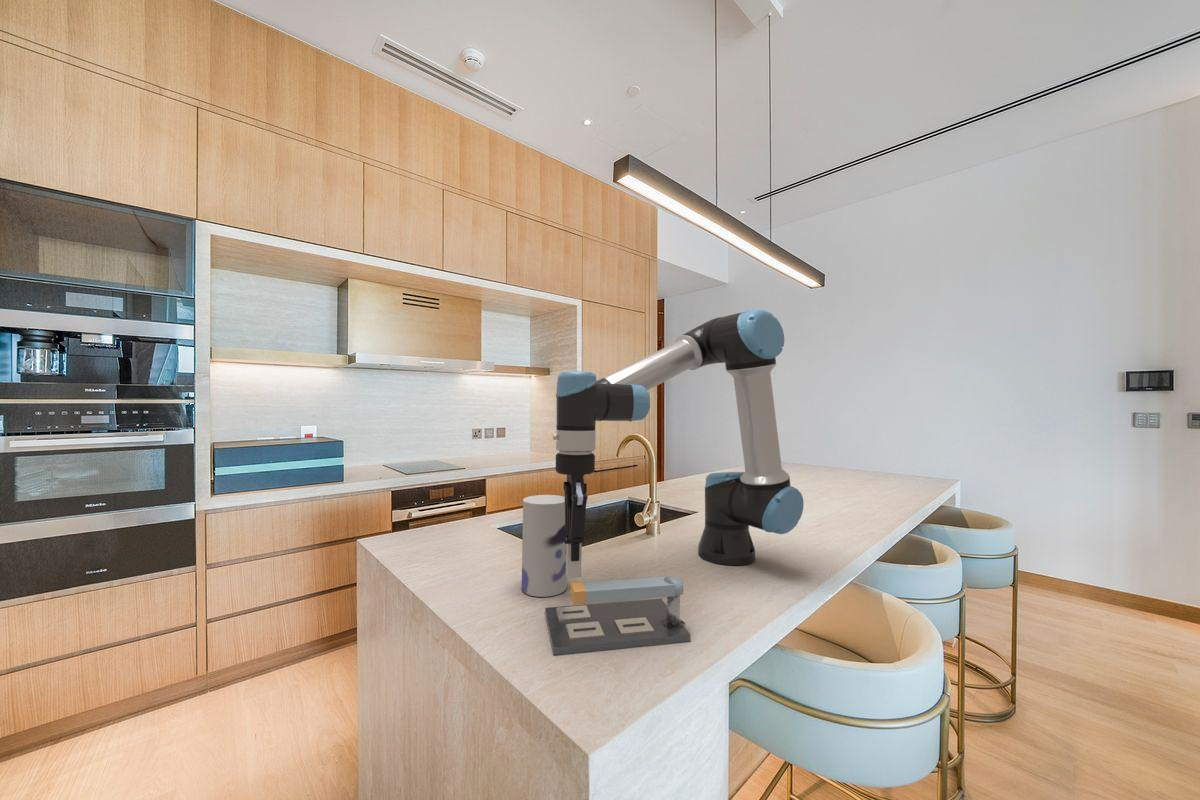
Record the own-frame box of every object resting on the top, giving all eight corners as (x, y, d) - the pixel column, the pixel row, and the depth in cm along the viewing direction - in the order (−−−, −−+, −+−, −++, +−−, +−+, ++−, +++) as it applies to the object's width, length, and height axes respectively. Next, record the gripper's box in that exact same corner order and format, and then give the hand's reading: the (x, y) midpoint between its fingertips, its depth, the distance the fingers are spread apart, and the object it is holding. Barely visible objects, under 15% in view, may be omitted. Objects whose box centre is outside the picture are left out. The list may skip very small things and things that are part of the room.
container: (559, 599, 96) (560, 504, 96) (514, 595, 98) (516, 501, 98) (571, 581, 106) (573, 495, 106) (530, 577, 108) (532, 493, 108)
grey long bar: (678, 586, 86) (678, 575, 86) (687, 596, 82) (687, 583, 82) (570, 594, 82) (570, 582, 82) (574, 604, 78) (574, 591, 78)
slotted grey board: (661, 604, 94) (661, 596, 94) (690, 641, 80) (690, 632, 80) (544, 613, 89) (545, 605, 89) (553, 655, 75) (553, 645, 75)
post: (679, 622, 86) (680, 588, 86) (688, 634, 82) (689, 597, 82) (657, 625, 85) (658, 589, 85) (665, 636, 81) (666, 599, 81)
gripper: (552, 449, 93) (550, 565, 92) (560, 456, 80) (558, 591, 80) (588, 448, 94) (586, 563, 94) (601, 455, 82) (599, 588, 81)
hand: (573, 575), depth 87 cm, fingers closed
